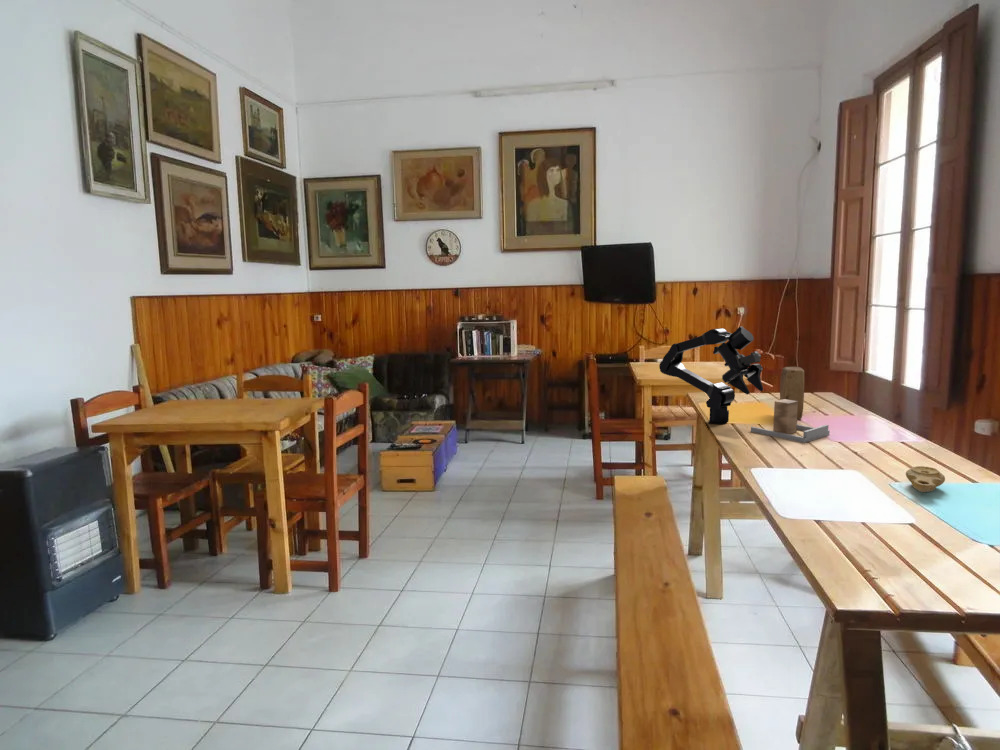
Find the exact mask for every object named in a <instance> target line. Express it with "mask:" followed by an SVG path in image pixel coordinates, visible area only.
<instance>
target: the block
mask: <svg viewBox="0 0 1000 750" xmlns="http://www.w3.org/2000/svg"><path fill="white" fill-rule="evenodd" d="M780 374H781V375H780V383H779V400H782V399H787V400H794V401H798V409H797V421H799V420H801V419H802V418H803V414H804V401H805V370H804V369H803V368H802V367H799V366H785V367H783V369H782V371H781V373H780Z"/></svg>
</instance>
